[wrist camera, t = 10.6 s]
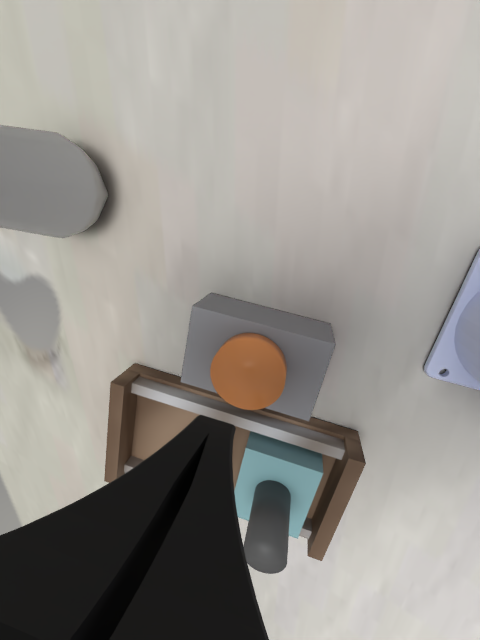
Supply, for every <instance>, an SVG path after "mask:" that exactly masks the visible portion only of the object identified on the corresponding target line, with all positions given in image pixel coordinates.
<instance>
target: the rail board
mask: <svg viewBox="0 0 480 640" xmlns="http://www.w3.org/2000/svg"><path fill="white" fill-rule="evenodd" d="M199 415H204V416H207V417H210V418H213V419H217V420H220V421H223V422H227V423H230V424H233V425H234V426H235V428H236V430H235V434H234V439H233V453H232V463H233V482H234V490H235V487H236V483H237V479H238V475H239V472H240V468H241V464H242V460H243V457H244V453H245V449H246V445H247V442H248V438H249V435H250V431H252V432H256V433H259V434H262V435H265V436H268V437H271V438H274V439H277V440H281V441H284V442H287V443H290V444H293V445H296V446H299V447H302V448H306V449H309V450H312V451H315V452H318V453H321V454H322V460H323V475H322V478H321V481H320V483H319V486H318V488H317V491H316V493H315V496H314V498H313V501H312V503H311V506H310V509H309V511H308V514H307V516H306V519H305V521H304V524H303V526H302V529H301V531H300V534H299V536H301V537H304V538H307V539H308V556H309V557H312V558H315V559H317V560H320V561H322V560H323V557H324V555H325V553H326V551H327V548H328V546H329V544H330V542H331V540H332V537H333V535H334V533H335V531H336V528H337V526H338V524H339V522H340V520H341V517H342V515H343V513H344V511H345V508H346V506H347V504H348V502H349V500H350V497H351V495H352V493H353V491H354V488H355V486H356V484H357V482H358V480H359V477H360V475H361V473H362V471H363V468H364V466H365V464H366V463H365V459H364V455H363V451H362V447H361V442H360V438H359V434H358V431H355V430H352V429H348V428H345V427H342V426H339V425H335V424H332V423H329V422H325V421H322V420H319V419H316V418H312V417H310V420H309V421H306V420H303V419H299V418H296V417H293V416H290V415H286V414H283V413H280V412H277V411H273V410H270V409H267V408H262V409H258V410H246V409H241V408H238V407H235V406H233V405H231V404H229V403H228V402H226V401H225V400H224V399H223V398H222V397H221V396H220V395H219V394H218V393H215V392H212V391H208V390H205V389H202V388H199V387H195V386H192V385H189V384H186V383H182V382H181V377H178V376H175V375H171V374H168V373H165V372H162V371H158V370H155V369H152V368H148V367H145V366H142V365H139V364H133V365H132V366H131V367H129V368H128V369H127V370H126V371H124V372H123V373H122V374H121V375H119V376H118V377H117V378H116V379H114V380H113V381H112V382H111V386H110V402H109V417H108V433H107V449H106V464H105V480H104V481H106V482H109V483H110V482H112V481H114V480H115V479H117V478H119V477H120V476H122V475H123V474H125V473H126V472H128V471H129V470H131V469H133V468H134V467H135V466H137V465H138V464H140V463H141V462H142V461H144V460H145V459H147V458H148V457H149V456H151V455H152V454H154V453H155V452H156V451H158V450H159V449H160V448H161V447H163V446H164V445H165V444H166V443H168V442H169V441H170V440H171V439H173V438H174V437H175V436H176V435H177V434H178V433H180V432H181V431H182V430H183V429H184V428H185V427H186V426H187V425H189V424H190V423H191V422H192V421H193V420H194V419H195V418H196V417H197V416H199Z"/></svg>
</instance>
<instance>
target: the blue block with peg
mask: <svg viewBox="0 0 480 640" xmlns="http://www.w3.org/2000/svg"><path fill="white" fill-rule="evenodd" d="M322 475H323V460H322V454H321V453H318V452H315V451H312V450H309V449H306V448H302V447H299V446H296V445H293V444H290V443H287V442H284V441H281V440H277V439H274V438H271V437H268V436H265V435H262V434H259V433H256V432H252V431H250V435H249V438H248V442H247V445H246V449H245V453H244V457H243V460H242V464H241V468H240V472H239V475H238V479H237V483H236V487H235V490H234V493H235V502H236V509H237V516H238V517H239V518H242V519H245V520H248V521H249V522H248V527H247V532H246V537H245V542H244V547H243V548H244V553H245V557H246V561H247V563H248V564H249V565H250V566H251V567H252V568H254V569H255V570H257V571H260V572H263V573H269V574H273V573H278V572H281V571H282V570H283V569H284V568H285V567H286V565H287V553H288V537H289V536H292V537H294V538H297V539H298V537H299V534H300V531H301V529H302V526H303V524H304V521H305V519H306V516H307V514H308V511H309V509H310V506H311V503H312V501H313V498H314V496H315V493H316V491H317V488H318V486H319V483H320V481H321V478H322Z"/></svg>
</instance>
